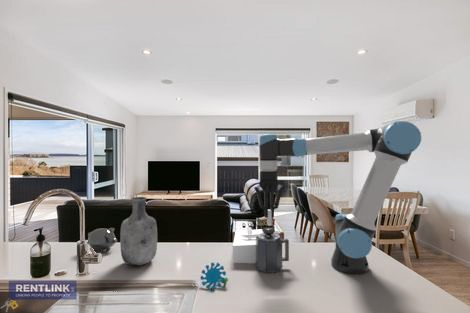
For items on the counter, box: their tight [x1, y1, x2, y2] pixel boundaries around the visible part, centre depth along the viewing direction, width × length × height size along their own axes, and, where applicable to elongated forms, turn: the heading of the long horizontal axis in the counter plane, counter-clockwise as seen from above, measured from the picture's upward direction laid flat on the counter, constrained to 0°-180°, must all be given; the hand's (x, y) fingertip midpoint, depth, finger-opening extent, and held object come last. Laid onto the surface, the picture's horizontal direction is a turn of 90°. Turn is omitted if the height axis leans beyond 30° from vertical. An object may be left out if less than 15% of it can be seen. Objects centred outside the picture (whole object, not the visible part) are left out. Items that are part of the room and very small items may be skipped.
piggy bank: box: [87, 227, 118, 254], centre depth 139 cm, size 11×15×12 cm
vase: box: [119, 196, 158, 266], centre depth 123 cm, size 16×16×30 cm
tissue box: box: [232, 226, 264, 264], centre depth 133 cm, size 14×25×11 cm, turn 177°
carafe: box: [255, 232, 290, 275], centre depth 116 cm, size 14×11×14 cm
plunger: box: [263, 227, 275, 237], centre depth 116 cm, size 8×8×14 cm
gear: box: [200, 262, 229, 290], centre depth 103 cm, size 11×6×10 cm
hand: (269, 224), depth 115 cm, fingers closed
